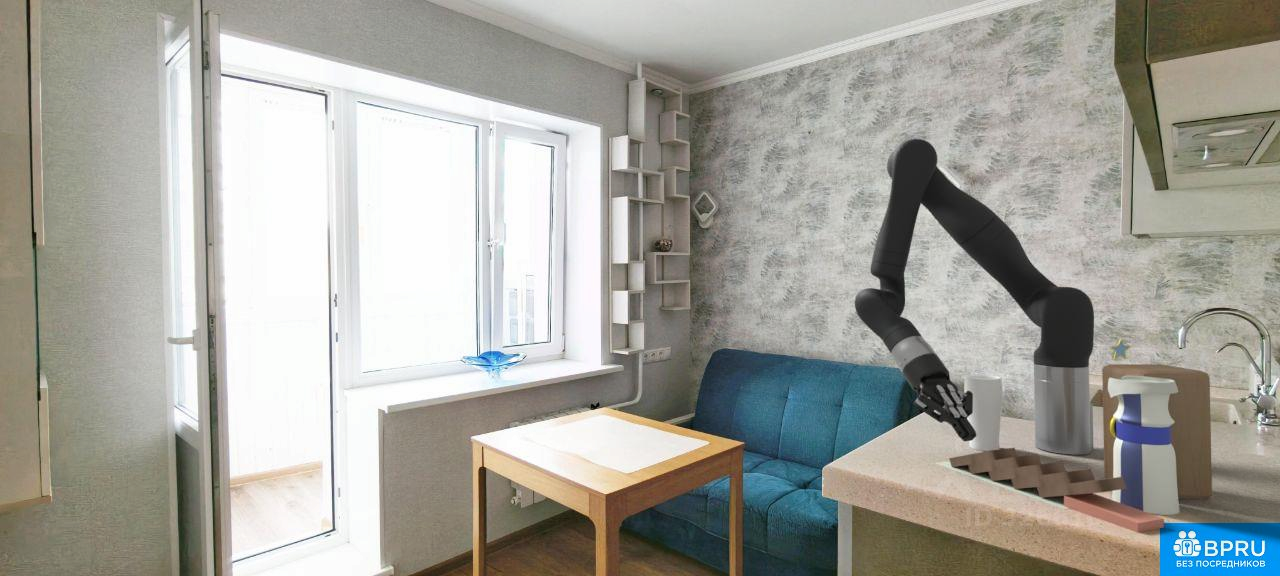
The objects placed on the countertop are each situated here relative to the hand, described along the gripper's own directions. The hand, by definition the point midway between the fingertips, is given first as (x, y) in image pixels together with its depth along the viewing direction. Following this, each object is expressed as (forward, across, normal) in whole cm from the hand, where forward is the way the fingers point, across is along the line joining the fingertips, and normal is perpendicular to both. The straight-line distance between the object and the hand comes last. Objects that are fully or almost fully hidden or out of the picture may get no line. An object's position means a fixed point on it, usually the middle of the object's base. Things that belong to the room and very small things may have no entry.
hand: (970, 438), depth 107 cm
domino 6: (+17, 0, -10) cm, 20 cm away
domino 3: (+8, 0, -1) cm, 8 cm away
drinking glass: (-3, +14, +12) cm, 18 cm away
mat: (+9, 0, -1) cm, 9 cm away
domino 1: (+2, 0, +5) cm, 5 cm away
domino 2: (+5, 0, +2) cm, 5 cm away
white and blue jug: (+20, +9, -12) cm, 25 cm away
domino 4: (+11, 0, -4) cm, 12 cm away
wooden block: (+17, +19, -8) cm, 27 cm away
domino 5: (+14, 0, -7) cm, 16 cm away
